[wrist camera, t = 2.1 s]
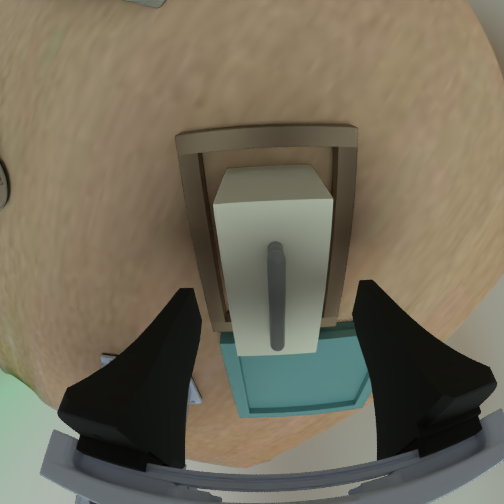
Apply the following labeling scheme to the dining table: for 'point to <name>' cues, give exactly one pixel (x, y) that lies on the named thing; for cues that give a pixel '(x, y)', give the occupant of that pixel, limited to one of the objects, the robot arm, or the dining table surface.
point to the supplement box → (149, 2)
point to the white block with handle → (274, 256)
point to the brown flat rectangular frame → (263, 137)
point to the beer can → (3, 188)
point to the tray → (300, 377)
